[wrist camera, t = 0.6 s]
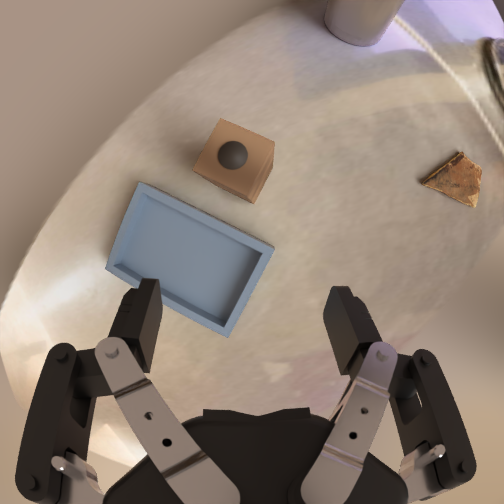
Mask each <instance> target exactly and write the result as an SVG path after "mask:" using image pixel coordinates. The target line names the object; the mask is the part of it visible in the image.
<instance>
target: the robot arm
mask: <svg viewBox="0 0 504 504" xmlns="http://www.w3.org/2000/svg"><path fill="white" fill-rule="evenodd" d="M404 1H405V0H328V4H327V8H326V12H325V16H324V21H325V24H326V26H327V28H328V29H329V30H330V31H331V32H332V33H333V34H334V35H335V36H337V37H338V38H339V39H341V40H343V41H345V42H348V43H350V44H353V45H358V46H370V45H374V44H376V43H377V42H378V41H379V40H380V39H381V37H382V36H383V34H384V33H385V31H386V29H387V28H388V26H389V25H390V23H391V22H392V20H393V18H394V17H395V15H396V14H397V12H398V10H399V9H400V7H401V6H402V4H403V3H404ZM162 311H163V305H162V297H161V290H160V283H159V279H154V278H142V279H141V282H140V284H139V287H138V289H137V288H131V289H130V290H129V291H128V292H127V293H126V294H125V295H124V296H123V299H122V301H121V305H120V306H119V309H118V312H117V314H116V317H115V319H114V322H113V324H112V327H111V330H110V332H109V335H108V338H105V339H103V340H102V341H100V342H99V343H98V345H97V346H96V348H93V349H87V350H80V351H76V349H75V348H74V347H73V346H72V345H71V344H69V343H60V344H57V345H55V346H54V347H52V348H51V349H50V351H49V353H48V355H47V358H46V360H45V363H44V366H43V369H42V371H41V374H40V377H39V380H38V383H37V386H36V389H35V392H34V396H33V399H32V402H31V406H30V409H29V413H28V416H27V420H26V424H25V428H24V432H23V437H22V441H21V446H20V451H19V456H18V462H17V468H16V474H15V482H16V486H17V488H18V490H19V492H20V493H21V494H22V495H23V496H24V497H25V498H26V499H28V500H30V501H33V502H35V503H39V504H409V503H412V502H414V501H417V500H421V501H423V500H427V499H430V498H432V497H435V496H437V495H440V494H442V493H444V492H447V491H449V490H451V489H453V488H455V487H457V486H460V485H462V484H464V483H466V482H468V481H469V480H471V479H472V477H473V476H474V474H475V472H476V460H475V457H474V454H473V450H472V447H471V445H470V441H469V438H468V435H467V432H466V429H465V426H464V423H463V421H462V418H461V415H460V413H459V410H458V408H457V405H456V403H455V401H454V397H453V395H452V393H451V390H450V388H449V385H448V383H447V381H446V379H445V376H444V374H443V372H442V369H441V367H440V365H439V363H438V361H437V359H436V357H435V356H434V355H433V354H432V353H431V352H430V351H428V350H425V349H419V350H417V351H416V352H415V353H414V354H413V355H412V356H408V355H403V354H398V353H397V352H396V350H395V349H394V348H393V347H392V346H391V345H390V344H388V343H386V342H383V341H382V339H381V337H380V334H379V332H378V330H377V328H376V326H375V324H374V322H373V320H372V319H371V316H370V314H369V313H368V312H369V311H368V309H367V307H366V305H365V304H364V303H363V302H362V301H361V300H360V299H359V298H358V297H354V296H353V294H352V292H351V290H350V288H349V287H348V286H333V287H332V288H331V290H330V293H329V296H328V299H327V302H326V305H325V308H324V312H323V319H324V324H325V327H326V330H327V333H328V336H329V339H330V342H331V345H332V348H333V352H334V355H335V358H336V361H337V365H338V368H339V371H340V374H341V375H350V378H351V379H350V380H349V382H348V384H347V386H346V388H345V390H344V392H343V394H342V396H341V398H340V400H339V402H338V404H337V406H336V408H335V409H334V411H333V413H332V415H331V416H330V417H329V419H328V420H327V419H325V418H323V417H320V416H317V415H313V414H310V409H309V407H307V408H295V409H283V410H280V411H276V412H273V413H269V414H265V415H261V416H254V415H249V414H244V413H240V412H236V411H231V410H209V409H203V416H198V417H195V418H191V419H189V420H187V421H185V422H183V423H180V422H179V421H178V419H177V418H176V417H175V415H174V414H173V412H172V411H171V410H170V408H169V407H168V405H167V404H166V403H165V401H164V400H163V398H162V397H161V395H160V394H159V392H158V391H157V389H156V388H155V386H154V385H153V383H152V382H151V381H150V380H149V379H147V378H146V376H145V375H144V373H150V369H151V364H152V359H153V354H154V349H155V345H156V340H157V335H158V331H159V327H160V322H161V318H162ZM416 392H418V395H419V397H420V400H421V403H422V407H421V404H420V401H419V399H418V396H417V393H416ZM108 395H114V397H115V399H116V401H117V403H118V405H119V407H120V409H121V411H122V413H123V414H124V416H125V418H126V420H127V421H128V423H129V425H130V427H131V428H132V430H133V432H134V433H135V435H136V437H137V438H138V440H139V441H140V443H141V445H142V446H143V448H144V449H145V451H146V452H147V455H146V456H145V457H144V458H143V459H142V460H141V461H140V462H139V463H137V464H136V465H135V466H134V467H133V468H132V469H131V470H130V471H129V472H128V473H126V474H125V475H124V476H123V477H122V478H121V479H120V480H119V481H117V482H116V483H115V484H114V485H113V486H111V488H109V490H108V491H107V492H106V494H104V493H103V492H102V491H101V489H100V488H99V485H98V480H97V474H96V472H95V470H94V469H93V467H92V466H91V465H89V464H88V463H87V462H86V460H87V451H88V445H89V438H90V431H91V425H92V419H93V414H94V408H95V403H96V398H97V397H100V396H108ZM388 400H389V401H390V404H391V408H392V411H393V415H394V418H395V422H396V426H397V429H398V433H399V437H400V440H401V445H402V449H403V453H404V458H403V459H402V461H401V465H400V469H399V474H397V473H396V472H395V471H393V470H392V469H391V468H389V467H388V466H387V465H385V464H384V463H383V462H381V461H380V460H379V459H377V458H376V457H375V456H373V455H372V454H371V453H370V452H368V451H369V448H370V446H371V444H372V441H373V439H374V437H375V434H376V432H377V429H378V427H379V424H380V422H381V419H382V417H383V414H384V411H385V408H386V406H387V403H388Z"/></svg>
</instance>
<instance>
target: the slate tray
mask: <svg viewBox="0 0 504 504" xmlns="http://www.w3.org/2000/svg"><path fill="white" fill-rule="evenodd" d="M274 250H275V248H274V246H272V245H270V244H268V243H266V242H264V241H262V240H260V239H258V238H256V237H254V236H252V235H250V234H248V233H246V232H244V231H242V230H240V229H238V228H236V227H234V226H232V225H230V224H228V223H226V222H224V221H222V220H220V219H218V218H216V217H214V216H212V215H210V214H208V213H206V212H204V211H202V210H200V209H198V208H196V207H194V206H192V205H190V204H188V203H186V202H184V201H182V200H180V199H178V198H176V197H174V196H172V195H170V194H168V193H166V192H164V191H162V190H160V189H158V188H156V187H153V186H151V185H149V184H146V183H142V182H139V184H138V186H137V188H136V190H135V192H134V195H133V197H132V199H131V202H130V204H129V206H128V209H127V211H126V214H125V216H124V218H123V221H122V223H121V226H120V229H119V231H118V234H117V236H116V239H115V242H114V244H113V247H112V250H111V253H110V256H109V258H108V261H107V264H106V267H105V269H106V270H107V271H109V272H111V273H112V274H114V275H115V276H117V277H119V278H120V279H122V280H123V281H125V282H127V283H128V284H130V285H132V286H133V287H135V288H137V289H138V287H139V284H140V282H141V279H142V278H154V279H159V283H160V290H161V297H162V304H164V305H166V306H168V307H170V308H171V309H173V310H175V311H177V312H179V313H180V314H182V315H184V316H186V317H188V318H190V319H192V320H194V321H195V322H197V323H199V324H201V325H203V326H205V327H207V328H209V329H211V330H213V331H215V332H217V333H219V334H221V335H223V336H225V337H227V338H228V337H229V335H230V334H231V332H232V330H233V328H234V326H235V324H236V322H237V320H238V319H239V317H240V315H241V313H242V311H243V309H244V307H245V305H246V304H247V302H248V300H249V298H250V296H251V294H252V292H253V290H254V288H255V286H256V285H257V283H258V281H259V279H260V277H261V275H262V273H263V271H264V269H265V267H266V265H267V263H268V262H269V260H270V258H271V256H272V254H273V252H274Z"/></svg>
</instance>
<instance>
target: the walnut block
mask: <svg viewBox="0 0 504 504" xmlns="http://www.w3.org/2000/svg"><path fill="white" fill-rule="evenodd" d="M274 145H275V142H274V141H272V140H269V139H267V138H265V137H263V136H261V135H259V134H256V133H254V132H252V131H250V130H247V129H245V128H243V127H240V126H238V125H236V124H233V123H231V122H228V121H226V120H224V119H221V118H220V119H219V121H218V123H217V125H216V127H215V128H214V130H213V132H212V134H211V136H210V137H209V139H208V141H207V143H206V145H205V147H204V149H203V150H202V152H201V154H200V156H199V158H198V160H197V162H196V164H195V166H194V168H193V171H194V172H196V173H197V174H199V175H201V176H202V177H204V178H205V179H207V180H208V181H210V182H212V183H213V184H215V185H216V186H218V187H220V188H222V189H224V190H226V191H228V192H230V193H232V194H234V195H237V196H239V197H241V198H243V199H245V200H247V201H249V202H251V203H253V204H254V203H255V201H256V199H257V197H258V195H259V194H260V192H261V190H262V188H263V186H264V184H265V182H266V180H267V178H268V176H269V174H270V172H271V170H272V168H273V157H274Z"/></svg>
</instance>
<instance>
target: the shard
mask: <svg viewBox="0 0 504 504" xmlns="http://www.w3.org/2000/svg"><path fill="white" fill-rule="evenodd" d="M481 174H482V170H481V167H480V166H478V165H476V164H475V163H473V162H472V161H471V160H470V159H468V158H467V157H466V156H465V155H464V153H463V152H460V153H459V154H458V155H457V156H456V157H455V158H453V159H452V160H451V161H450V162H449V163H447V164H446V165H444V166H443V167H441V168H440V169H439V170H437V171H436V172H435V173H433V174H431V175H430V176H429V177H428V179H426V180H425V181H424V182H423V183H422V185H424V186H427V187H430V188H433V189H437V190H439V191H442V192H444V193H445V194H446V195H448V196H450V197H453V198H454V199H456V200H458V201H461V202H462V203H464V204H466V205H469V206H472V207H473V208H475V206H476V204H477V200H478V197H479V191H480V181H481Z"/></svg>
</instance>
